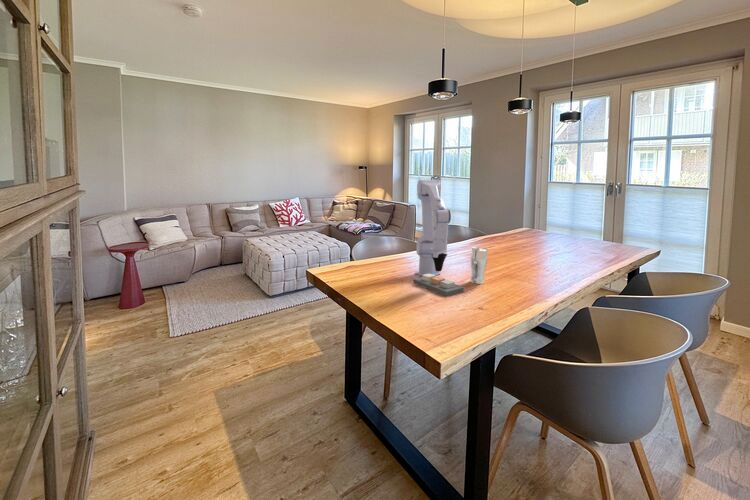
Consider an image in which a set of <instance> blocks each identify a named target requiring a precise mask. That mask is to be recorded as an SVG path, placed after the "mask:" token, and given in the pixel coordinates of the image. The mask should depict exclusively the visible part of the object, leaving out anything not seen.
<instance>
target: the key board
mask: <svg viewBox="0 0 750 500" xmlns="http://www.w3.org/2000/svg"><path fill="white" fill-rule="evenodd" d="M412 283H413V284H414V285H416V286H418V287H421V288H424V289H426V290H429V291H432V292H434V293H436V294H439V295H442V296H444V297H450V296H454V295H458V294H461V293H464V292H465V287H464V286H461V285H459V284H457V283H455V287H454V288H449V289H446V288H444V287H441V286H440V285H436V284H433V283H431V281H430V282H427V281H425V280H422V276H420V277H416V278H413V279H412Z"/></svg>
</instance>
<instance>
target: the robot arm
mask: <svg viewBox="0 0 750 500" xmlns="http://www.w3.org/2000/svg"><path fill="white" fill-rule="evenodd" d="M441 186H442V184H441V181H440V179H421V178H420V179H418V181H417V185H416V192H417V193H416V195H417V196H416V197H417V199H419V200H420V202H421V221H422V222H421V223H422V224H421V225H422V229H421V230H422V235H421V236H419V238H417V240H416V250H415V251H416V254H417V255H418V257H419V261H418V262H419V263H418V264H419V265H418V271H415V272H414V274H415V275H419V276H420V277H422V275H424V274H432V275H435V276H439V275H441V273H440V272H442V270H443V267H444V263H445V260H446V258H447V256H448V253H447V252H448V236H449V235H448V234H449V224H451V220H452V213H451V209H450V208H449V209H448V207H446V203H445V202H444V200H443V198H442V197H440V192H441V188H442V187H441Z"/></svg>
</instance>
